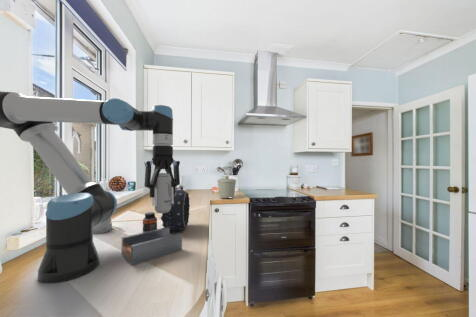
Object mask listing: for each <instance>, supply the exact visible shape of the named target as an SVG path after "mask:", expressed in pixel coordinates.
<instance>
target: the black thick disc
mask: <svg viewBox="0 0 476 317" xmlns="http://www.w3.org/2000/svg"><path fill="white" fill-rule="evenodd" d="M189 196H190V195H189V192H188V191H185V190H183V189H175V195H173V204H171V209H170V211H169V212H167V213H161V217H160V220H161V222H162V224H161V226H162V228H165V227H169V231H173V232H174V231H181V230H184V229H186V228H187V227H188V224H189V220H190V218H189V217H190V208H191V207H190V205H191V204H190V197H189Z"/></svg>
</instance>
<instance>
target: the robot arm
mask: <svg viewBox="0 0 476 317" xmlns="http://www.w3.org/2000/svg"><path fill="white" fill-rule="evenodd" d="M58 123H70V124H71V123H75V124H95V125H111V126H112V125H113V126H114V125H115V126H118V127H119V128H120V129H121V130H123V131H129V132H132V131H135V132H136V131H141V132H142V131H152V145H153V146H152V158H151V159H150V160H146V161H144V165H145V166H144V167H145V172H144V173H145V174H144V187H145V188H146V189H147V188H148V190H149V197H150V198H151V206H153V207H155V206H157V189H155V186H156V182H157V178H158V176H159V173H161V170H164V171H165V173H170V176H171V204H173V195H175V190H176V187H177V186H179V185H180V184H181V182H180V163H181V161H180V160H175V159H174V157H173V155H174V147H173V144H174V139H173V138H174V134H173V133H174V132H173V129H174V117H173V109H172V108H171V107H170V106H168V105H163V104H158V105H153V106H152V110H138V109H137V108H135V107H134V106H133V105H132V104H129V103H128V102H127V101H124V100H123V99H121V98H117V97H116V98H110V99H108V100H92V99H75V98H61V97H60V98H58V97H57V98H56V97H43V96H41V97H40V96H28V95H27V96H26V95H23V94H22V93H20V92H13V91H0V128H3V129H9V130H13V131H14V132H15V134H16V135H17V136H18V138H19V139H20V140H21V141H22V142H27V143H29V144H30V146H32V148H33V149H34V150H35V151H36V153H37V155H38V156H39V157H40V159H41V160H42V162H44V164H45V165H46V167H47V168H48V169H49V171H50V173H51V174H52V175H53V177H55V179H56V181H58V183H59V184H60V186H61V187H62V188H63V190H64V192H66V193H67V194H63V195H58V196H56V197H54V198H51V199H50V200H49V201H48V203H47V204H46V210H45V217H46V220H45V221H46V224H45V225H46V230H45V231H46V234H45V238H46V240H45V241H46V242H45V243H46V244H45V251H44V255H43V257H42V259H41V262H40V264H39V267H38V270H37V280H38V281H39V282H41V283H60V282H64V281H65V282H66V281H69V280H73V279H77V278H80V277H81V276H83V275H86V274H88V273H91V272H92V271H94V270H95V269H96V268H97V267H98V266H99V264H100V255H99V254H98V251H97V248H96V246H95V244H94V238H93V237H94V233H93V226H95V225H97V224H99V223H101V222H104V221H106V220H107V219H109V218H110V217H112V216H113V215H114V214H115V212H116V210H117V208H118V201H117V197H116V196H115V195H114V194H113V193H112V192H111V191H108V190H105V189H104V188H103V187H102V186H101V184H100V183H99V182H94V181H93V180H92V179H91V178H90V176H89V175H88V173H87V172H86V171H85V170H84V168H83V167H82V165H81V164H80V163H79V162H78V160H77V159H76V158H75V156H74V155H73V153H72V152H71V150H70V149H69V148H68V147H67V145H66V143H64V141H63V139H62V138H61V137H60V136H59V134H58V133H57V131H58V130H59V127H58V125H57V124H58ZM152 166H154V169H153V172H152ZM171 166H173V167H171ZM172 171H173V172H172Z"/></svg>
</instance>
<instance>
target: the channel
mask: <svg viewBox="0 0 476 317" xmlns="http://www.w3.org/2000/svg"><path fill="white" fill-rule="evenodd" d="M182 250H183V234H182V233H181V232H178V233H173V234H170V230H169V227H165V228H164V227H161V228H157V230H152V231H148V232H143V231H142V232H139V233H135V234H130V235H126V236H123V237H122V236H121V255H122V257H124V258H125V260H127V262H128V263H129V264H130V265H131V266H136V265H138V264H142V263H145V262H148V261H151V260H154V259H158V258H160V257H163V256H167V255H169V254H174V253H177V252H178V251H182Z"/></svg>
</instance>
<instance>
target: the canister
mask: <svg viewBox="0 0 476 317" xmlns="http://www.w3.org/2000/svg"><path fill="white" fill-rule="evenodd" d="M216 181H217V187H218V188H217V189H218V197H219V198H220V197H221V198H220V199H222V198H229V197H233V198H234V197H235V191H236V183H237V180H236V179H235V178H229V175H225V176H224V178H219V179H217V180H216Z"/></svg>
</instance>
